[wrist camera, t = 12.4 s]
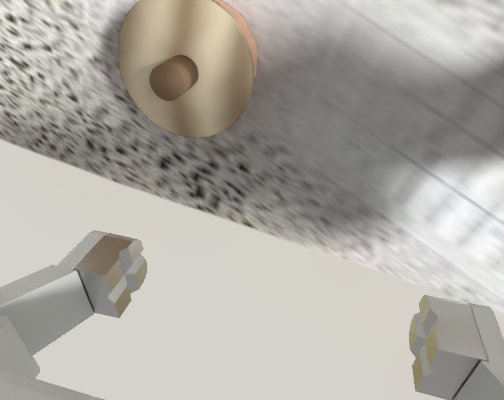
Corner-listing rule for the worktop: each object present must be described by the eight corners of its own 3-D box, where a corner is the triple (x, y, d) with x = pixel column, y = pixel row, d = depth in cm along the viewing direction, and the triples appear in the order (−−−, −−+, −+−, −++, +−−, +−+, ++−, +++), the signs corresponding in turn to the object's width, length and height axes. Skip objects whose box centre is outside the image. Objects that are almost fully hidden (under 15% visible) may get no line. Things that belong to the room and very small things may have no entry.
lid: (255, -9, 30) (240, -4, 26) (253, 140, 38) (241, 161, 34) (109, -14, 33) (75, -10, 29) (136, 127, 41) (112, 145, 37)
